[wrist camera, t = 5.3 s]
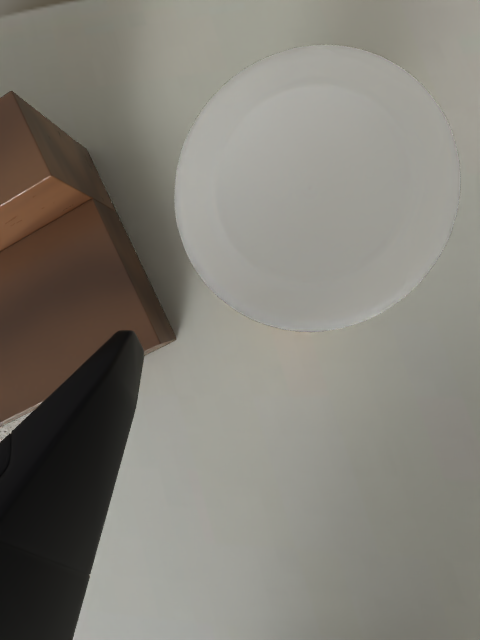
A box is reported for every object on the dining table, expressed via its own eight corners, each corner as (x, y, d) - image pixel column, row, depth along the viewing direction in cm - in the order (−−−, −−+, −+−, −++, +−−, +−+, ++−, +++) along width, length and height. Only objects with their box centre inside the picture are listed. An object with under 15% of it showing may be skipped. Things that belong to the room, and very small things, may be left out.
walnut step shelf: (177, 339, 20) (134, 351, 14) (-8, 430, 22) (-109, 471, 16) (86, 148, 20) (11, 89, 15) (-88, 254, 22) (-212, 236, 16)
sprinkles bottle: (235, 266, 19) (110, 169, 6) (303, 210, 18) (337, -39, 5) (288, 333, 19) (284, 393, 6) (358, 278, 18) (546, 199, 5)
